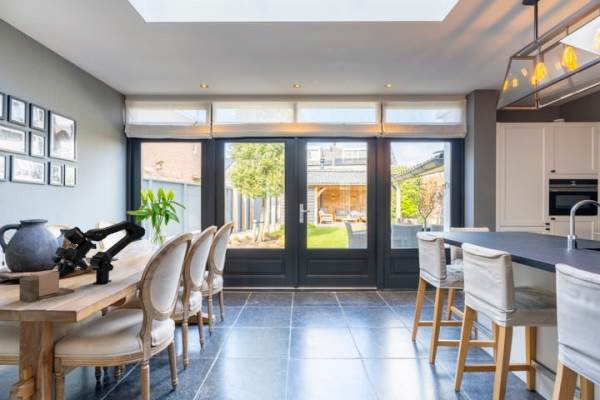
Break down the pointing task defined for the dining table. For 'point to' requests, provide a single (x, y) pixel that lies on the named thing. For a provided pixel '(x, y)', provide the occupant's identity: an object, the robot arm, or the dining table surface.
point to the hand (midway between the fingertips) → (55, 279)
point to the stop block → (36, 290)
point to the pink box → (47, 282)
